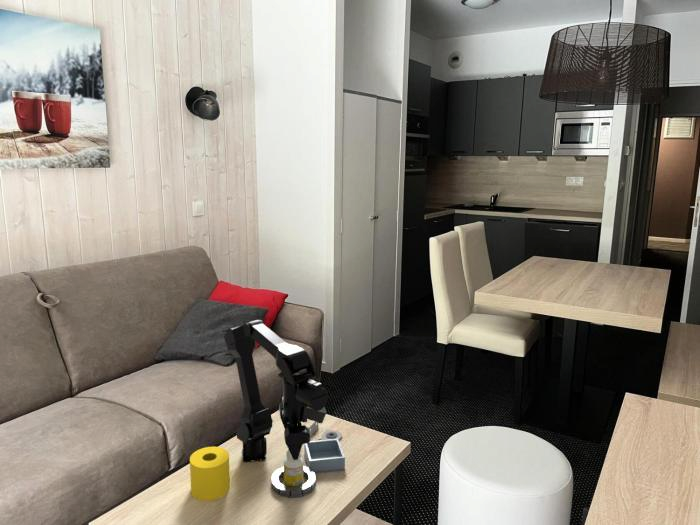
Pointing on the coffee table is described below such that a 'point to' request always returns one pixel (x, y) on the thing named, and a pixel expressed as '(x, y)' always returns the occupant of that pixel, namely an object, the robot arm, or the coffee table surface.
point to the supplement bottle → (293, 470)
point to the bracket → (327, 433)
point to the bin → (324, 456)
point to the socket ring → (293, 491)
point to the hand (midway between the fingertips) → (293, 450)
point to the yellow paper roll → (209, 473)
